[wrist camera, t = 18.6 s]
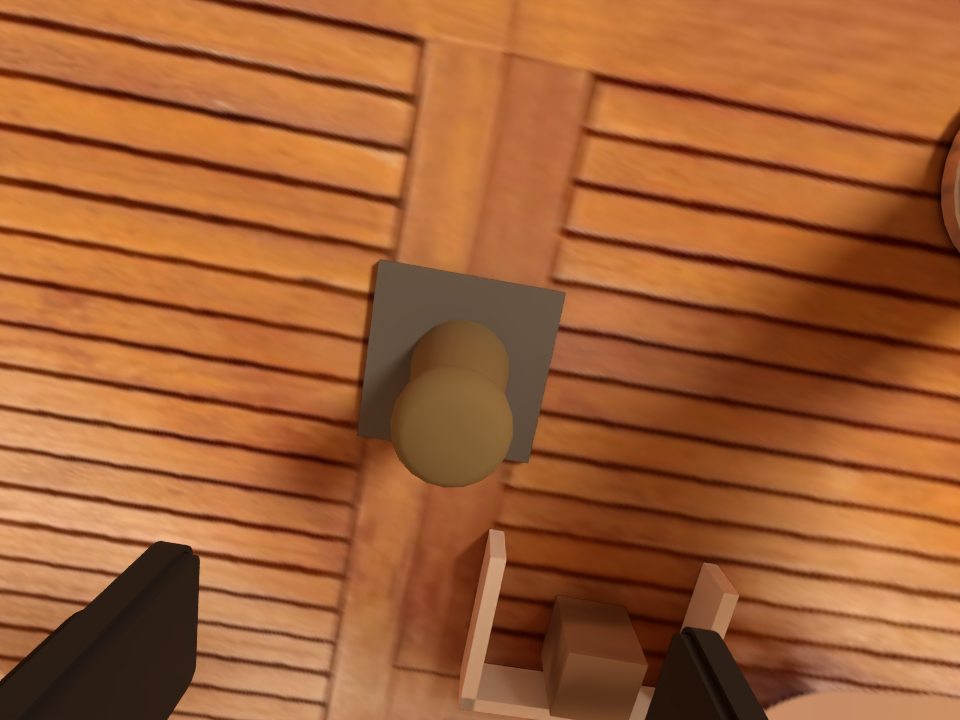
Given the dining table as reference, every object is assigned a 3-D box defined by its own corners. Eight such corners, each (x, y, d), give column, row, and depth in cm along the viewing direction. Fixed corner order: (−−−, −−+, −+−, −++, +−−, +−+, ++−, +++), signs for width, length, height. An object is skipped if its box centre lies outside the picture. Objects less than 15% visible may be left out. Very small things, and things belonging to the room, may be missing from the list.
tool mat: (380, 259, 29) (378, 259, 28) (563, 292, 30) (565, 293, 29) (359, 431, 32) (356, 435, 31) (527, 459, 32) (528, 463, 32)
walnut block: (556, 594, 35) (569, 652, 30) (624, 606, 35) (648, 665, 30) (540, 651, 36) (550, 716, 31) (606, 662, 36) (626, 728, 32)
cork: (395, 391, 30) (349, 476, 20) (435, 302, 29) (409, 342, 18) (483, 430, 31) (486, 533, 20) (526, 345, 30) (553, 407, 19)
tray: (489, 529, 34) (490, 557, 31) (717, 564, 34) (739, 595, 31) (460, 671, 36) (458, 708, 34) (670, 700, 37) (686, 740, 34)
